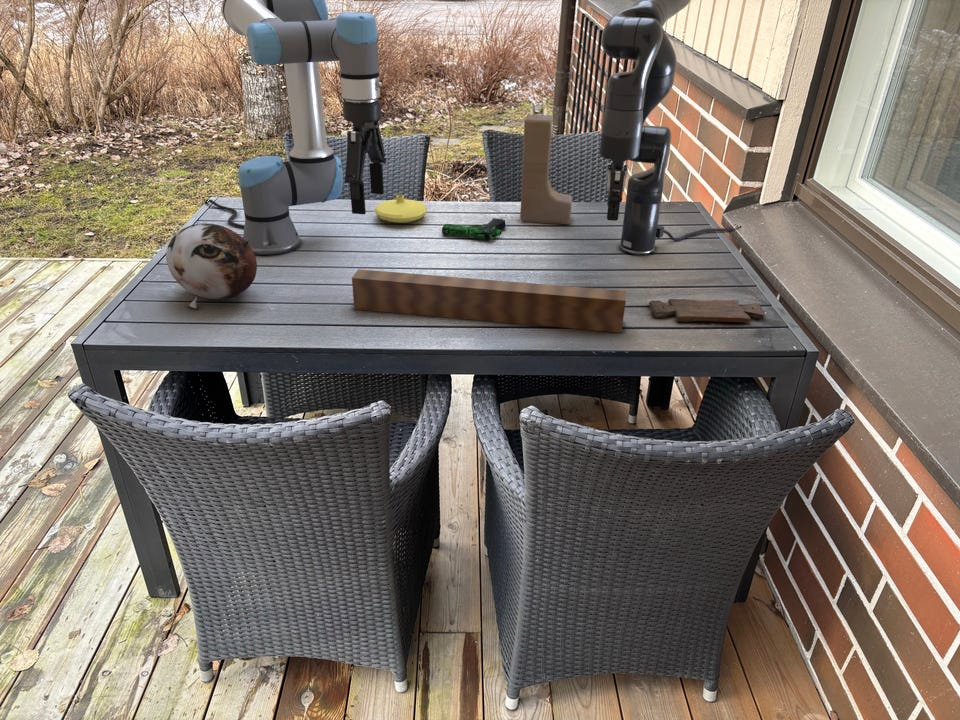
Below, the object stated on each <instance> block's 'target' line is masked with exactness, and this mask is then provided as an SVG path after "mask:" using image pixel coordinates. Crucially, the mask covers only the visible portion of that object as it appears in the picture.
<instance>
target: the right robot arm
mask: <svg viewBox="0 0 960 720" xmlns="http://www.w3.org/2000/svg"><path fill="white" fill-rule="evenodd" d="M691 1H692V0H635V1H634V3H633V4H632V6H631V7H628V8H626V9H623V10H621V11H619V12H617V13H615V14H614V15H612V16H611V17H610V18H609V19H608V21H607V22H606V24H605V25H604V28H603V30H602V33H601V47H602V50H603V52H604V53H605V54H606V56H608V57H609V58H612V59H615V60H616V59H617V60H631V61H635V64H634V65H635V66H634V68H633V69H632V70H628V71H622V72H616V73H615V72H614V73H613V74H611V75H610V76H609V78H608V81H607V88H606V89H607V90H606V96H605V97H606V98H605V108H604V112H603V117H602V124H601V125H602V126H601V133H600V134H601V135H600V145H599V155H600V156H601V157H602V158H603V159H606V160H610V163H607V165H606V177H607V178H606V181H607V183H606V191H607V192H608V193H607V203H606V205H607V213H606V219H607V221H612V222H615V221H616V222H617V221H618V220H619V213H620V206H621V203H622V201H623V193H624V192H625V189H626V197H625V203H624V204H625V205H624V211H623V213H624V214H623V222H622V230H621V237H620V243H619V249H620V250H621V251H622V252H624V253H627V254H630V255H635V256H646V255H650V254H653V253H654V252H655V248H656V240H657V239H661V238H663V236H664V234H666V235H667V236H668V237H669V239H671V240H672V241H674V242H680V241H682V240H685V239H686V238H688V237H691V236H695V235H698V234H702V233H708V232H729V231H731V230H733V229H734V228H730V227H731V226H729V227H725V228H723V227H722V228H704V229H698V230H695V231H692V232H689V233H686V234H684V235H682V236H680V237H674V236H673V235H672V234H671V232H670V231H668V230H666V229H665V226H663V225H659V219H660V212H661V205H662V198H663V191H664V185H665V176H666V169H667V165H668V159H669V155H670V150H671V145H672V131H671V129H670V127H668V126H661V125H649V124H647V125H645V122H646V120H647V118H648V117H649V115H651V113H652V112H653V110H654V109H655V108H657V106H658V105H659V104H660V103H661V102H662V101H663V100H665V98H666V97H667V96H668V95H669V93H670V92H671V90H672V88H673V86H674V83H675V76H676V68H677V54H676V51H675V48H674V46H673V44H672V42H671V40H670V38H669V37H668V35H667V33H666V31H665V29H664V25H665V24H666V23H667V22H668V20H670V19H671V18H672V17H673V16H675V15H676V14H679V12H681V11H682V10H684V9H685V8H687V6H688V5H689V4H690V2H691ZM626 161H630V162H635V163H643V164H653V166H652V167H649V168H648V169H645V170H643V171H640V172H636V173H633V174H630V176H629V178H628V181H627V187H626V179H627V177H628V170H629V169H628V164H625V162H626Z"/></svg>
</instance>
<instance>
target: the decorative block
mask: <svg viewBox="0 0 960 720" xmlns="http://www.w3.org/2000/svg"><path fill="white" fill-rule="evenodd" d="M523 124H524V125H523V147H522V167H521V168H522V170H521V190H520V191H521V192H520V193H521V194H520V210H519V211H520V214H519V215H520V216H519V221H520V222H525V223H541V224H557V225H570V223H571V217H572V215H571V214H572V203H573V196H572V195H571V194H566V193H561V192H558V191H557V190H555V189H554V188H552V187H553V186H552V185H551V180H550V176H549V175H550V161H551V160H550V159H551V147H552V129H553V127H552V126H553V116H552V115H551V114H549V115H548V114H526V116H525V119H524V123H523Z"/></svg>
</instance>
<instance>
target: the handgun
mask: <svg viewBox="0 0 960 720" xmlns="http://www.w3.org/2000/svg"><path fill="white" fill-rule="evenodd" d="M505 228H506V220H505V219H503V218H497V217H492V219H491V220H490V221H489V222H488V223H483V224H482V225H479V224H472V225H459V224H453V223H445V224H443V226H442V227H441V235H446V236H454V237H462V238H469V239H470V238H471V239H474V240H479V241H484V242H491V241H492V240H494V239H495V238H497V237H500V236H502V230H504V229H505Z"/></svg>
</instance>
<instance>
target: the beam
mask: <svg viewBox="0 0 960 720" xmlns="http://www.w3.org/2000/svg"><path fill="white" fill-rule="evenodd" d="M351 285H352V297H353V309H354V310H359V311H360V310H361V311H370V312H371V311H372V312H384V313H392V314H393V313H394V314H407V315H414V316H415V315H416V316H428V317H438V318H439V317H440V318H449V319H450V318H451V319H462V320H472V321H473V320H474V321H483V322H484V321H485V322H493V323H494V322H495V323H506V324H518V325H527V326H528V325H529V326H542V327H550V328H563V329H573V330H585V331H595V332H596V331H597V332H607V333H618V334H619V333H623V332H622V331H623V323H624V316H625V309H626V301H627V297H626V295H627V294H626V290H619V289H608V288H607V289H606V288H593V287H581V286H569V285H556V284H547V283H546V284H545V283H544V284H543V283H532V282H521V281H509V280H498V279H497V280H496V279H495V280H494V279H485V278H484V279H483V278H471V277H470V278H469V277H459V276H446V275H433V274H422V273H421V274H420V273H408V272H395V271H384V270H372V269H359V268H358V269H357V270H356V272H355V273H354V275H353V276H351Z"/></svg>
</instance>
